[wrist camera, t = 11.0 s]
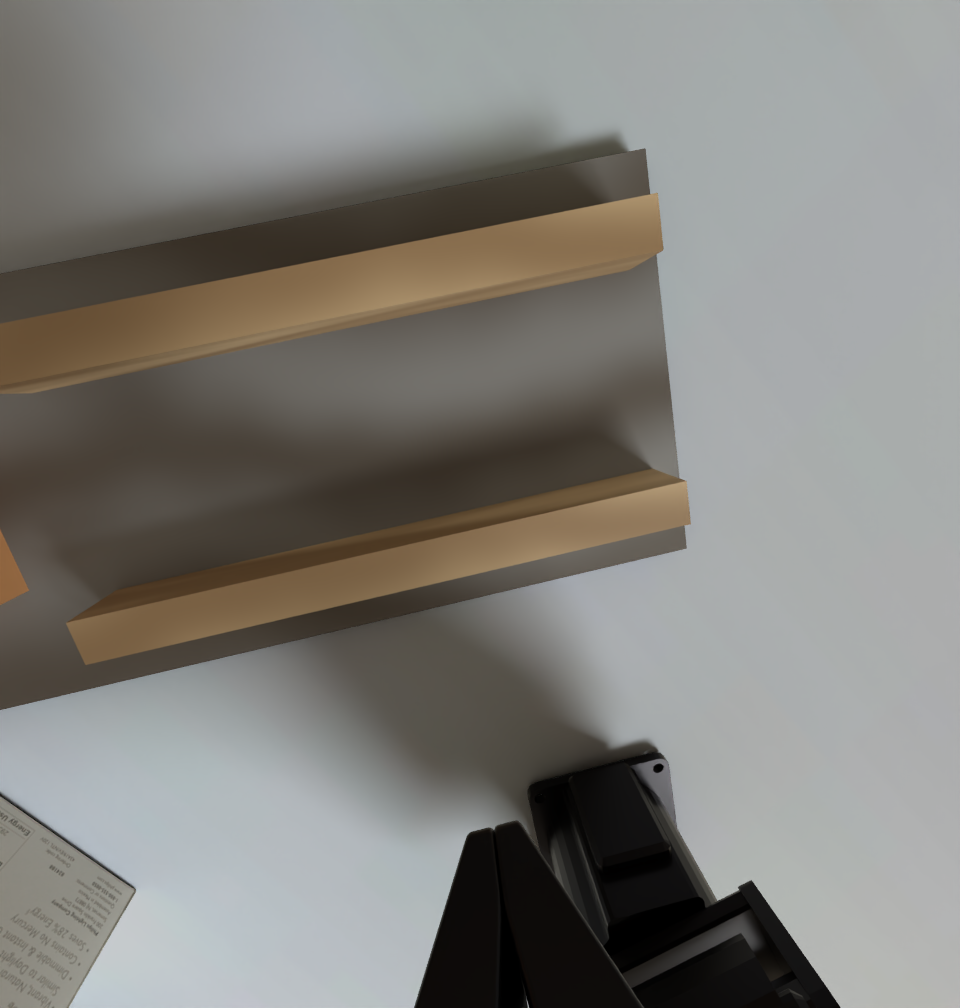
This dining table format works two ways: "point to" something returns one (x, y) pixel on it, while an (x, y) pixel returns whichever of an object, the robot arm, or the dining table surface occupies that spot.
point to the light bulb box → (50, 913)
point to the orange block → (9, 574)
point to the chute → (331, 422)
